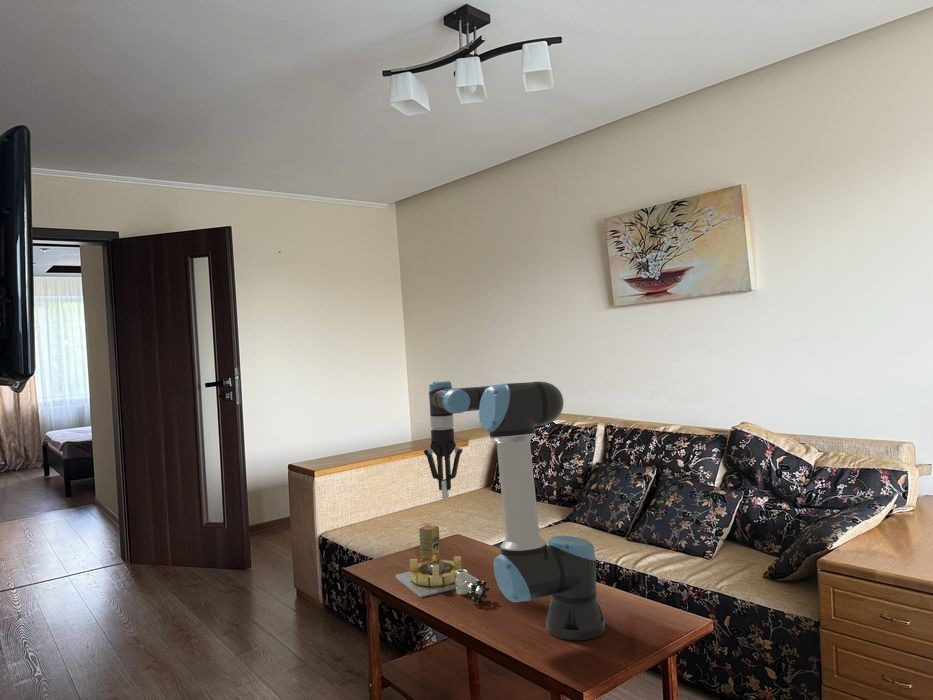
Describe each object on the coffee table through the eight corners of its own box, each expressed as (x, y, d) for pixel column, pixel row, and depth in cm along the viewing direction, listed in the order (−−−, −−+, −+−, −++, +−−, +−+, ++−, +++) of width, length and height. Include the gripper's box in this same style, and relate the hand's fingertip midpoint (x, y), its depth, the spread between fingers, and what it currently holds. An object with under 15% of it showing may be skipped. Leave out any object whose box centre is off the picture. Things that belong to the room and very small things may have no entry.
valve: (449, 593, 195) (470, 605, 185) (448, 571, 195) (469, 583, 185) (467, 588, 198) (489, 600, 188) (466, 566, 198) (488, 577, 188)
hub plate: (479, 583, 202) (478, 567, 202) (421, 597, 192) (420, 580, 192) (450, 565, 219) (449, 550, 219) (395, 577, 210) (394, 562, 210)
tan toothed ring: (460, 565, 214) (460, 548, 214) (462, 584, 198) (462, 565, 198) (411, 568, 214) (410, 551, 213) (409, 587, 197) (408, 569, 197)
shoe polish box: (420, 563, 223) (419, 528, 222) (428, 558, 227) (426, 525, 227) (433, 565, 220) (431, 530, 220) (440, 560, 224) (438, 526, 224)
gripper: (463, 426, 213) (467, 497, 213) (426, 427, 216) (429, 497, 216) (459, 429, 206) (462, 502, 206) (420, 430, 208) (423, 502, 209)
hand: (445, 499), depth 211 cm, fingers closed
